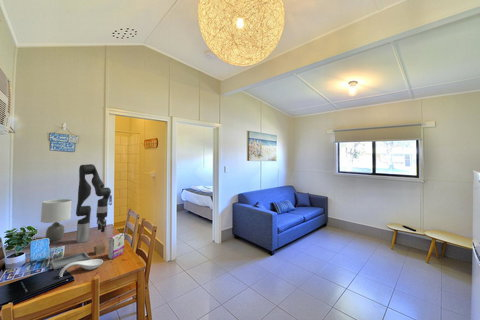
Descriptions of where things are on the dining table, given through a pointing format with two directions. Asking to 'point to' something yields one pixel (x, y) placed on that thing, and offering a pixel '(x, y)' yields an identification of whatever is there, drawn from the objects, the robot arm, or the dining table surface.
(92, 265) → the spoon rest
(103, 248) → the cube
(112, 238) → the candy bar box
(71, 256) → the tray
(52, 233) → the lamp
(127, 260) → the dining table surface
